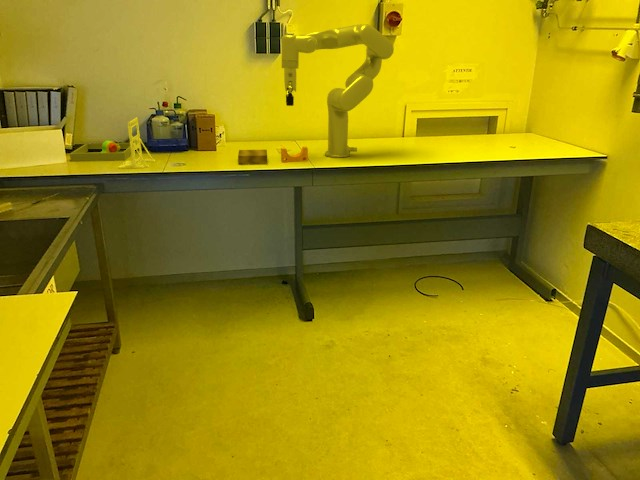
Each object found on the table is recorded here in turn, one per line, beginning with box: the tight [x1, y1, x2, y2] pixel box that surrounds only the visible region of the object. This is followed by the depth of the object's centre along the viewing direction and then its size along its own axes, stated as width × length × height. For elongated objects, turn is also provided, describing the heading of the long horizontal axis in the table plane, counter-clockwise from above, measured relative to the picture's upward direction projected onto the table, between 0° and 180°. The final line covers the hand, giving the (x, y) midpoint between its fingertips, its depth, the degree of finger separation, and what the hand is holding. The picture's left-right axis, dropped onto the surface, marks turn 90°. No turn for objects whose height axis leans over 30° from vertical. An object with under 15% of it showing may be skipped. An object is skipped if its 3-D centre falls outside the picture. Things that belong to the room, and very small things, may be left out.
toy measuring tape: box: [100, 140, 121, 153], centre depth 247 cm, size 6×20×7 cm, turn 150°
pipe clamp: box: [280, 146, 309, 163], centre depth 240 cm, size 12×4×6 cm, turn 106°
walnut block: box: [237, 149, 268, 166], centre depth 239 cm, size 13×13×4 cm
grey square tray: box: [69, 142, 132, 162], centre depth 248 cm, size 24×24×4 cm
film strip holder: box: [116, 117, 156, 169], centre depth 228 cm, size 14×14×20 cm
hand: (289, 104), depth 235 cm, fingers open, 9 cm apart
